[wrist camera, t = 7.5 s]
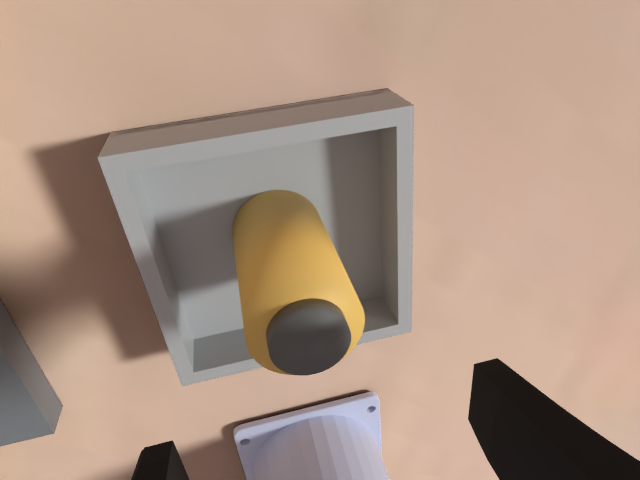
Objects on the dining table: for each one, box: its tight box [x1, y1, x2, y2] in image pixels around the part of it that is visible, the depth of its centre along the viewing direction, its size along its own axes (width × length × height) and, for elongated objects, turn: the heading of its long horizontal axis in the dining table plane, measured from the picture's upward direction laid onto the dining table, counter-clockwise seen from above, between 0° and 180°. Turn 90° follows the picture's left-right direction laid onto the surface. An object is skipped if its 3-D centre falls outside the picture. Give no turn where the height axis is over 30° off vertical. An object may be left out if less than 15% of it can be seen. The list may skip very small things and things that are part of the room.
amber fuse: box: [232, 190, 365, 375], centre depth 16 cm, size 4×4×7 cm
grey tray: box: [98, 88, 414, 386], centre depth 18 cm, size 10×10×2 cm
